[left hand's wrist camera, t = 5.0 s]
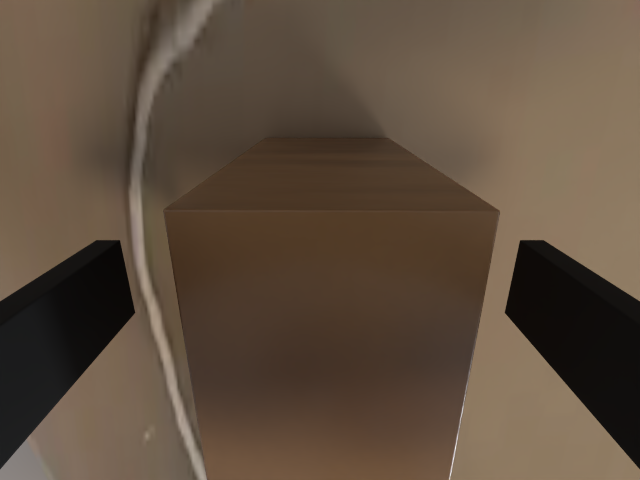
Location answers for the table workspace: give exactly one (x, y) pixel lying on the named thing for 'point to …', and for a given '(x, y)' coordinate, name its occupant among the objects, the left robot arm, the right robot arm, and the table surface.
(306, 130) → the table surface
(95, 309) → the left robot arm
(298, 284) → the box
